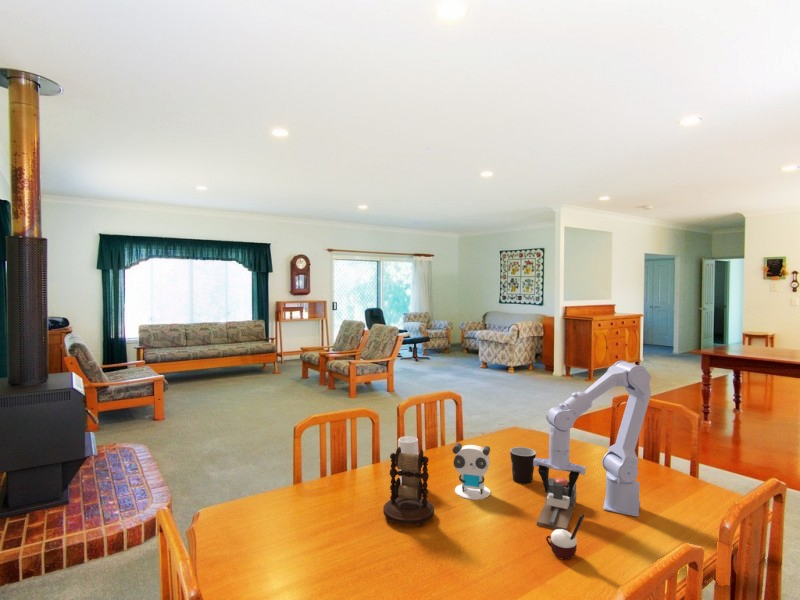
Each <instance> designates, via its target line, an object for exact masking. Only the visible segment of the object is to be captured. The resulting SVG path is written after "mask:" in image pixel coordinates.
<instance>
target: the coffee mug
mask: <svg viewBox="0 0 800 600" xmlns="http://www.w3.org/2000/svg"><path fill="white" fill-rule="evenodd" d="M509 451H510V452H509V455H510V463H511V473H512V480H513V482H515V483H517V484H520V483H521V485H529V484H531V482H532V483H533V477H534V471H535V466H533V460H534V458H537V457H536V456H537V452H536V451H535V450H534V449H532V448H530V447H525V446H516V447H512V448H510V450H509Z"/></svg>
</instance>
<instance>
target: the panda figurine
mask: <svg viewBox="0 0 800 600" xmlns="http://www.w3.org/2000/svg"><path fill="white" fill-rule="evenodd" d="M452 453H453V454H455V456H454V457H453V458H454V459H453V466H454V469H455V471H456V472H457V473H458V474H459V476H458V479H459V481H460V482H461V484H458V485H456V487H455V488H454V493H455V494H456V495H457V496H458V497H461V498H463V499H466V500H471V501H472V500H473V501H479V499H480V500H484V498H485V499H487V498H488V496H489V495H490V496H491V490H490V489H489V488H488V487H487V486H485V475H486V474H487V471H488V469H489V467H490V464H491V463H490V456H489V455H490V453H491V447H490V446H488V445H486V446H484V447H482V446H479V445H475V444H465V445H463V444H461V442H457V443H456V444H455V445H454V446H453V448H452ZM486 497H487V498H486Z"/></svg>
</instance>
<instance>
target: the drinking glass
mask: <svg viewBox="0 0 800 600" xmlns="http://www.w3.org/2000/svg"><path fill="white" fill-rule="evenodd" d="M398 447H400V448H401V453H408V454H417V455H419V439H418V438H417V437H415V436H411V435H410V436H408V435H406V436H405V435H404V436H401V437H399V438H398V440H397V448H398ZM399 471H401V469H399ZM399 478H400V482H401V485H402V476H399Z"/></svg>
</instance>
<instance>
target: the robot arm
mask: <svg viewBox="0 0 800 600" xmlns="http://www.w3.org/2000/svg"><path fill="white" fill-rule="evenodd" d="M651 378H652V375H651V373H649V371H648V370H647V368H646V367H644V366H643V365H638V364H636V363H635V364H634V363H631V362H628V361H626V360H618V361H616V362H614V364H613V365H610V366H609V367H608V368H607V370H606V371H605V373H604V374H603V375H601V377H599V378H598V379H596V381H594V383H593V384H591V385H590V386H589V387H588V388H587V389H586V390H584V391H576V392H575V391H574V392H572V393H571V394H570V397H569V398H568V399H566V400H565V401H564V402H560V403H559V404H558V406H553V407H552V408H550V409H549V411H548V413H547V415H545V417H546V418H545V419H546V421H547V423H548V424H549V436H548V437H549V439H548V440H549V441H548V458H540V457H535V458H534V460H533V466H534V468H535V467H538V469H537V472H538V475H539V476H540V478H541V480H542V484H543V488H544V493H545V494H546V493H547V492H548V490H549V481H548V480H549V478H550V475H549V473H550V469H552V470H554V471H561V472H563V471H564V472H569V474H568V481H569V493H568V497H571V496H572V490H573V487H574V484H575V483H577V481H578V478H579V476H580V475H581V476H585V474H586V466H585V465H584V466H583V465H579V464H576V463H573V462H570V440H571V437H570V436H571V433H570V432H571V429H572V428H573V427H574V424H575V421H577V419H578V418H579V417H580V416H582V415H583V414H584V413H586V412H587V411H589V409H591V408H592V407H593V401H595V400H597V399H598V398H599V397H601V396H602V395H604V394H605V393H607V392H608V391H609V390H611V389H613V388H614V387H623V388H624V389H625V390H626V391H627V394H628V395H629V396H628V397H627V398H628V399H627V402H626V406H625V409H624V412H623V415H622V419H621V423H620V426H619V429H618V432H617V436H616V440H615V443H614V444H613V445H610V446H609V447H608V450H607V452H606V453H605V454H604V456H603V457H602V460H601V464H602V467H603V469H604V470H605V474H606V475H605V476H606V477H605V480H606V481H605V498H604V502H603V507H602V508H603V510H604V511H608V512H613V513H617V514H623V515H628V516H633V517H640V513H639V512H640V508H641V500H640V489H641V487H640V485H641V483H640V481H636V479H637V478H638V475H639V469H638V464H639V458H638V455H637V454H636V451H635V450H636V447H637V444H638V442H639V441H638V440H639V437H640V433H641V430H642V427H643V423H644V420H645V416H646V412H647V409H648V406H649V402H650V398H651V397H652V396H651V395H652V391H651V385H650V382H651Z"/></svg>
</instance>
